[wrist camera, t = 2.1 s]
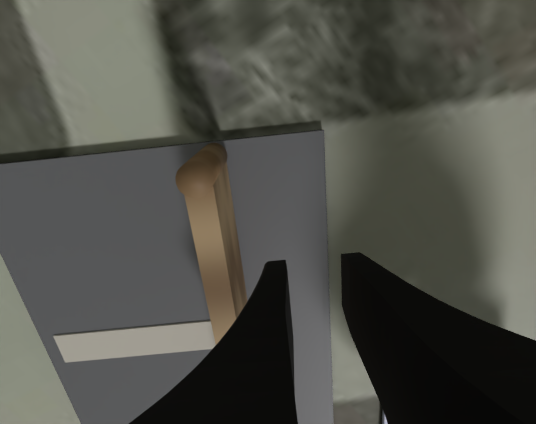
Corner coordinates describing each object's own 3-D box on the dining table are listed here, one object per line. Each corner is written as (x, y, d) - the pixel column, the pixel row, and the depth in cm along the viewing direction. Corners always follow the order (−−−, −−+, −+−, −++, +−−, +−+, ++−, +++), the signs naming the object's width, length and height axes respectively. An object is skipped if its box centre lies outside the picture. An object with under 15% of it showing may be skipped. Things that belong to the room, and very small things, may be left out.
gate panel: (251, 318, 20) (248, 388, 15) (230, 320, 20) (221, 391, 15) (225, 141, 16) (209, 160, 11) (199, 144, 16) (171, 164, 11)
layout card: (322, 129, 16) (324, 130, 16) (333, 440, 26) (334, 447, 25) (-33, 166, 17) (-42, 169, 16) (103, 460, 26) (100, 467, 26)
